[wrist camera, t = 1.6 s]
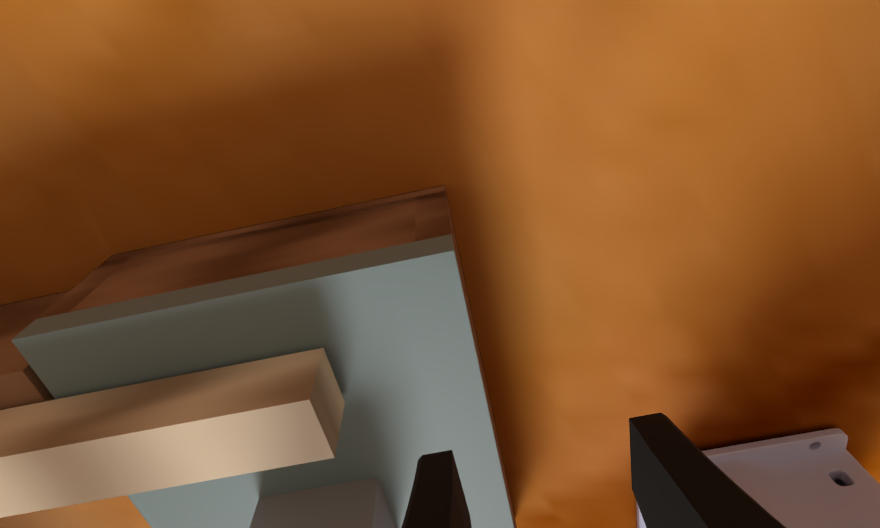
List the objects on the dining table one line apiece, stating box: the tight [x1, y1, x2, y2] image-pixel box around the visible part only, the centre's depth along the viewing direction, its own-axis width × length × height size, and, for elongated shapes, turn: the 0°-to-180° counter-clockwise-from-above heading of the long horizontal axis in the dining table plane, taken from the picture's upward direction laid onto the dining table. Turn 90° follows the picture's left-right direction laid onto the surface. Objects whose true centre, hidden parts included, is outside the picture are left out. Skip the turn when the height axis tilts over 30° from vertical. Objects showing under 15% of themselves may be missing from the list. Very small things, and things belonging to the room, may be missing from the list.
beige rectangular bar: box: [0, 348, 345, 518], centre depth 14 cm, size 12×2×2 cm, turn 102°
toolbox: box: [0, 186, 517, 528], centre depth 20 cm, size 21×18×5 cm
